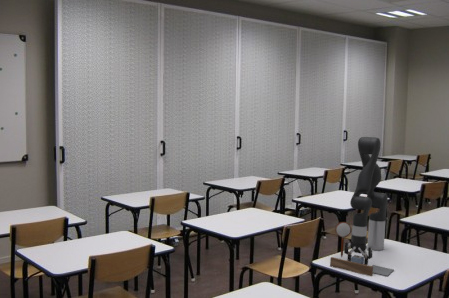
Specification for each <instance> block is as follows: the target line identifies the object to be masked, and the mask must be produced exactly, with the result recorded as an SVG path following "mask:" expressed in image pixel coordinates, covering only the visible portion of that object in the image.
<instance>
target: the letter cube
mask: <svg viewBox="0 0 449 298" xmlns="http://www.w3.org/2000/svg"><path fill="white" fill-rule="evenodd" d="M364 259H365V258H364V256H363V255H357V254H354V255H353V256H352V255H351V262H356V263H360V264H364Z"/></svg>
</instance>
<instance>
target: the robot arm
mask: <svg viewBox="0 0 449 298" xmlns="http://www.w3.org/2000/svg"><path fill="white" fill-rule="evenodd" d="M381 144H382V143H381V139H380V138H379V137H375V136H361V137H359V139H358V142H357V148H358V149H357V150H358V153H359V157H360V160H361V164H362V169H361V170H360V171H359V174H358V176H357V182H356V187H355V190H354V192H353V194H352V196H351V200H350V207H351V208H352V209H354V210H360V211H363V212H359V213H355V214H353V218H352V227H351V238H350V239H351V241H350V242H351V243H350V242H349V241H347V242H345V243H344V249H343V254H345V255H347V258H346V259H347V261H351V258H352V254H353V252H354V253H355V254H357V253H358V254H361V256H363V257H364V265H369V260H371V259H372V258H373V251H383V250H385V248H384V247H385V235H386V233H385V232H386V220H387V209H388V197H389V196H388V194H386V193H384V192H376V191H374V190H375V188H377V186H379V184H380V182H381V180H382V172H381V170H382V169H381V168H380V165H378V162H377V161H378V159H379V155H380V151H381ZM370 155H371V156H370ZM362 194H366V196H363V195H362ZM361 195H362V196H361ZM371 208H373V209H378V210H379V211H377V212H372V213H369V212H370V210H371ZM368 216H369V217H368ZM368 218H369V219H368ZM367 224H368V225H367ZM367 226H368V227H367ZM367 232H368V233H367ZM349 247H351V249H350V250H349ZM366 250H367V251H366Z"/></svg>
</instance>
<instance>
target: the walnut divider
mask: <svg viewBox="0 0 449 298" xmlns="http://www.w3.org/2000/svg"><path fill="white" fill-rule="evenodd" d="M329 263H330V264H329V267H332V266H333V267H332V268H336V269H340V270H345V271H348V272H353V273H357V274H361V275H366V276H369V277H372V276H373V275H374V273H373V266H372V265H369V264H368V265H364V264H360V263H356V262H351V261H348V260H346V259H342V258H338V257H333V256H331V257H330V262H329Z"/></svg>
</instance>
